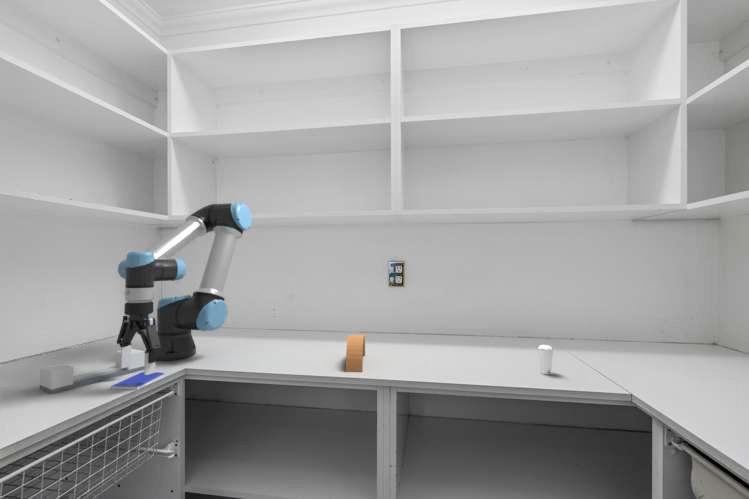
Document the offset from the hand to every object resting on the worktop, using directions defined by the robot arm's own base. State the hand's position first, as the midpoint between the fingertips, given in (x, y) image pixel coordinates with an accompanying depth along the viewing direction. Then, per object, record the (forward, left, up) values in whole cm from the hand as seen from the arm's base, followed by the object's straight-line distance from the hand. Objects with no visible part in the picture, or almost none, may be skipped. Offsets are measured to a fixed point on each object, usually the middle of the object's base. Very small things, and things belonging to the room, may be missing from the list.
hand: (137, 370), depth 111 cm
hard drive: (-1, 0, -4) cm, 4 cm away
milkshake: (-70, +110, -4) cm, 130 cm away
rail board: (+4, -15, -4) cm, 16 cm away
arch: (-50, +49, -4) cm, 70 cm away
